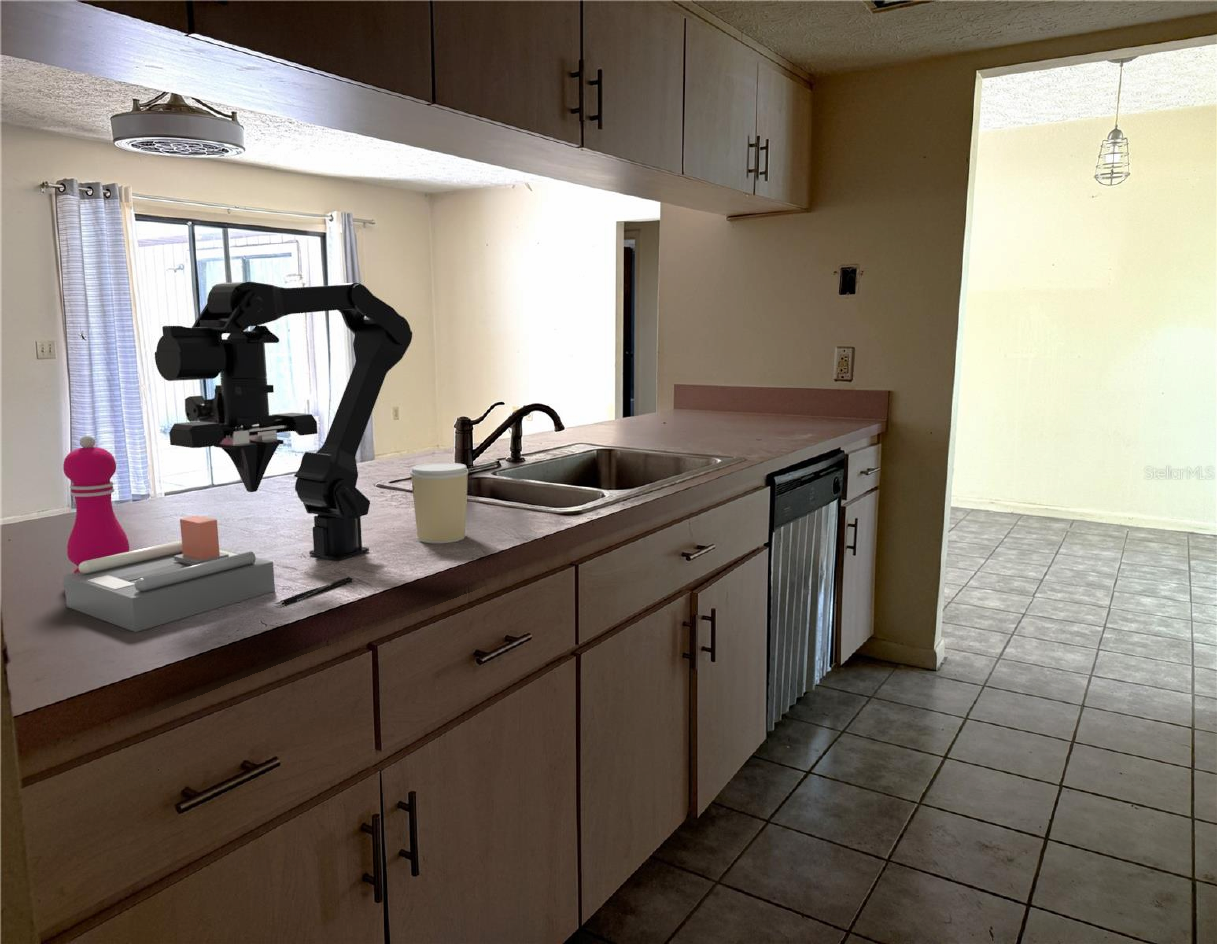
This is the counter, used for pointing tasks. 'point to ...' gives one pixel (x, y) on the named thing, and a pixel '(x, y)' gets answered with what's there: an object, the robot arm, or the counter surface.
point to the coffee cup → (440, 501)
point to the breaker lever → (199, 541)
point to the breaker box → (163, 585)
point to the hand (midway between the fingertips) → (252, 491)
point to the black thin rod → (314, 592)
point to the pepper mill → (93, 504)
